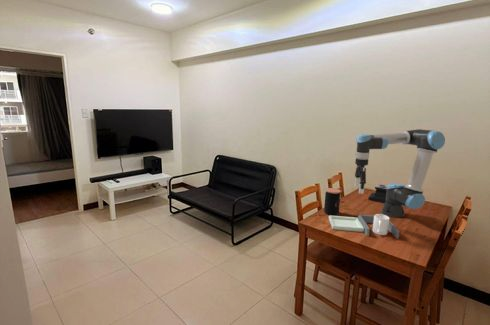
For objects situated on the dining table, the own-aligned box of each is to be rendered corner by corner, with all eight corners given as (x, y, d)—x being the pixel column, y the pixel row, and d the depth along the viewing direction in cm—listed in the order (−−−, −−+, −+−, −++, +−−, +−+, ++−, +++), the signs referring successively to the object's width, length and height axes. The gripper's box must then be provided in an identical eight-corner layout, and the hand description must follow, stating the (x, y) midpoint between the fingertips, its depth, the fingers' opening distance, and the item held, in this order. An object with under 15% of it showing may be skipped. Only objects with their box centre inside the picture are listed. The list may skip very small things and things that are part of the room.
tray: (356, 220, 184) (357, 217, 183) (363, 232, 167) (364, 228, 167) (328, 218, 187) (328, 215, 186) (332, 229, 170) (332, 225, 170)
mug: (370, 235, 163) (372, 219, 161) (373, 228, 173) (375, 212, 171) (385, 239, 159) (388, 222, 157) (388, 231, 168) (390, 216, 166)
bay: (385, 223, 181) (386, 216, 180) (398, 238, 159) (399, 231, 158) (357, 221, 183) (358, 214, 182) (366, 236, 162) (367, 228, 161)
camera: (369, 185, 223) (374, 180, 234) (368, 201, 227) (372, 195, 238) (390, 189, 214) (394, 183, 225) (388, 205, 218) (392, 199, 229)
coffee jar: (336, 217, 190) (339, 193, 186) (322, 213, 196) (324, 190, 192) (340, 212, 199) (342, 189, 195) (326, 209, 205) (327, 187, 201)
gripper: (352, 154, 181) (349, 184, 185) (360, 162, 157) (356, 195, 161) (363, 155, 180) (360, 185, 184) (373, 162, 156) (369, 196, 160)
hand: (358, 190), depth 173 cm, fingers open, 13 cm apart
